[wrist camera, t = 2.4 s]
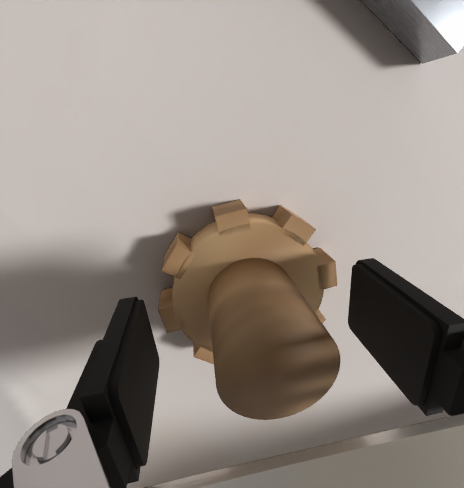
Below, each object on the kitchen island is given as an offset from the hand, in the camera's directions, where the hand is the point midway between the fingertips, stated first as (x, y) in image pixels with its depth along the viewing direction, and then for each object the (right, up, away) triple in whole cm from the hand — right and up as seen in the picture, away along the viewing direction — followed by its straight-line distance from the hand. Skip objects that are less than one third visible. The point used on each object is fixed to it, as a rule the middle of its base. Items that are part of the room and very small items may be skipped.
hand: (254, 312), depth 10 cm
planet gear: (0, +1, +2) cm, 3 cm away
